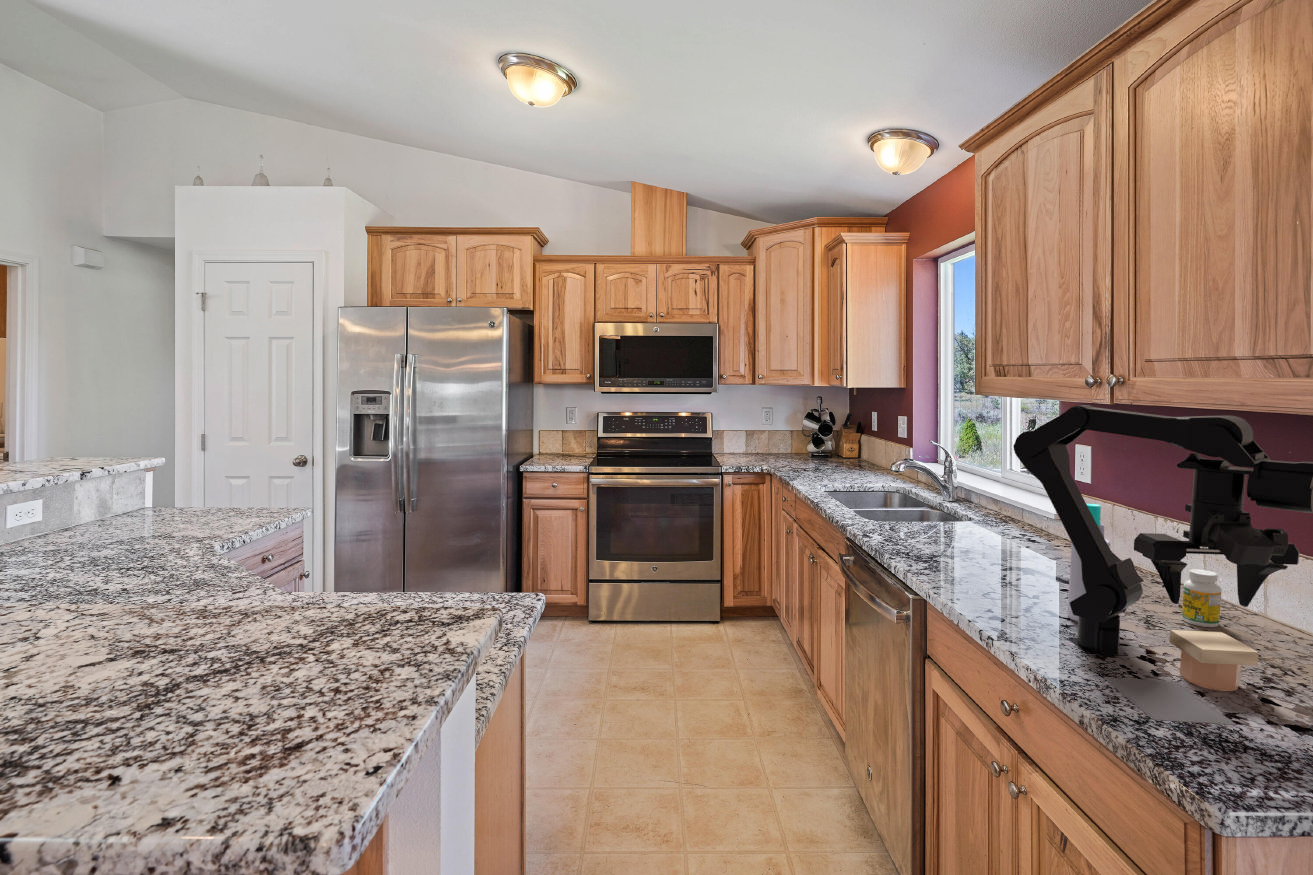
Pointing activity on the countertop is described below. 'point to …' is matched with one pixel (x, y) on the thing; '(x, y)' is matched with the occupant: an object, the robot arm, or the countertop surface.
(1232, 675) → the bowl
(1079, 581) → the spray bottle
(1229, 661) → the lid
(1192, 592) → the supplement bottle
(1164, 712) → the mat
